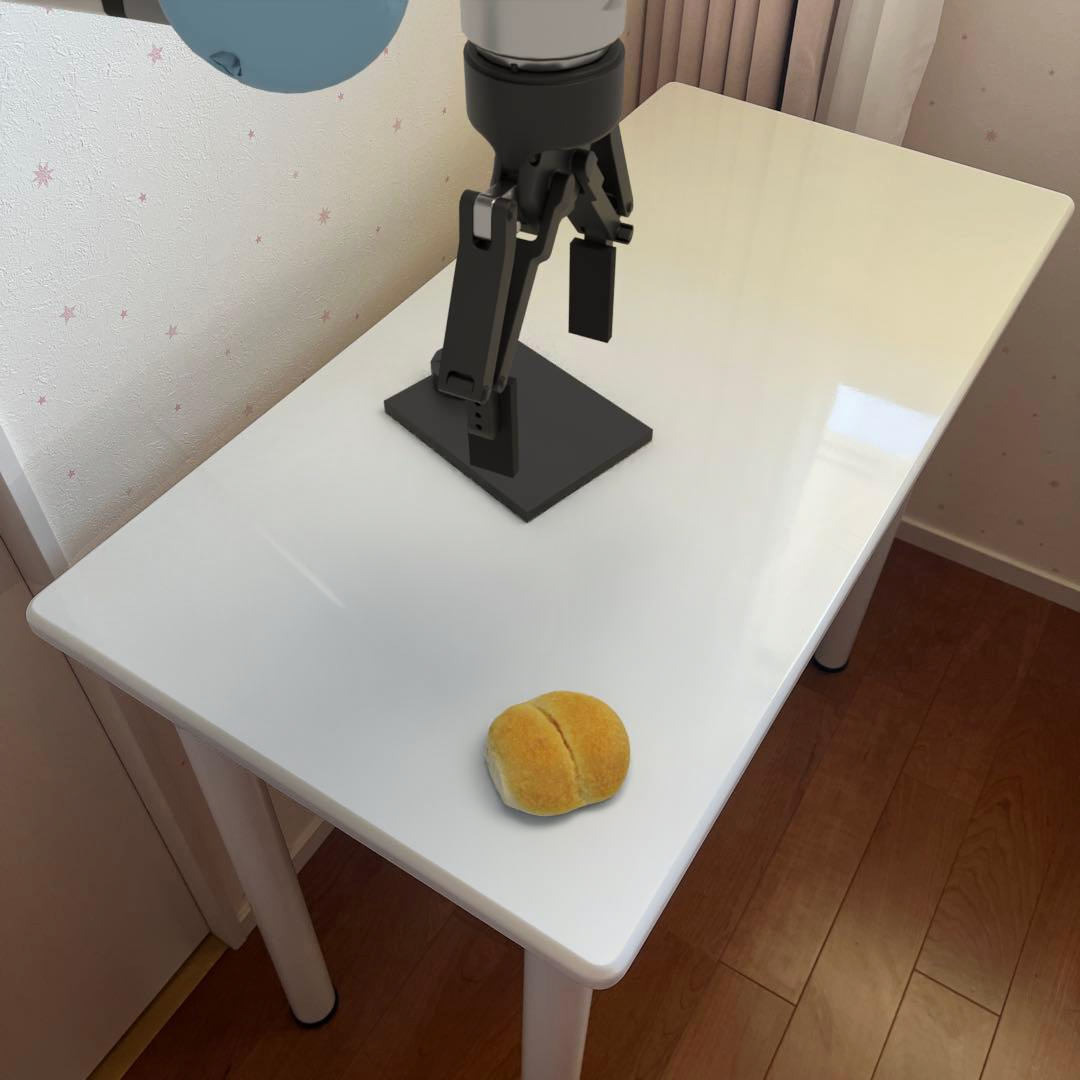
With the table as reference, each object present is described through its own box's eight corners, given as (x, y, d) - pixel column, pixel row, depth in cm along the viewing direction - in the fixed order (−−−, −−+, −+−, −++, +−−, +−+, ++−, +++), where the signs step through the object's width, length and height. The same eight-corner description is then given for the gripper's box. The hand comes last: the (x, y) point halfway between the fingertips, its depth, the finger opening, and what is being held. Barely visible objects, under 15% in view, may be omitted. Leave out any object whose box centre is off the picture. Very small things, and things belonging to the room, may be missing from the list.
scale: (382, 409, 94) (378, 381, 92) (505, 341, 100) (504, 314, 98) (527, 523, 85) (526, 495, 82) (652, 440, 91) (655, 412, 89)
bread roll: (649, 790, 69) (654, 755, 66) (515, 839, 66) (513, 805, 64) (596, 689, 74) (599, 652, 71) (470, 731, 72) (467, 695, 69)
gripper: (495, 178, 42) (510, 555, 57) (710, -43, 57) (676, 301, 73) (327, 139, 44) (385, 512, 60) (578, -63, 59) (572, 275, 75)
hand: (545, 397), depth 66 cm, fingers open, 13 cm apart
